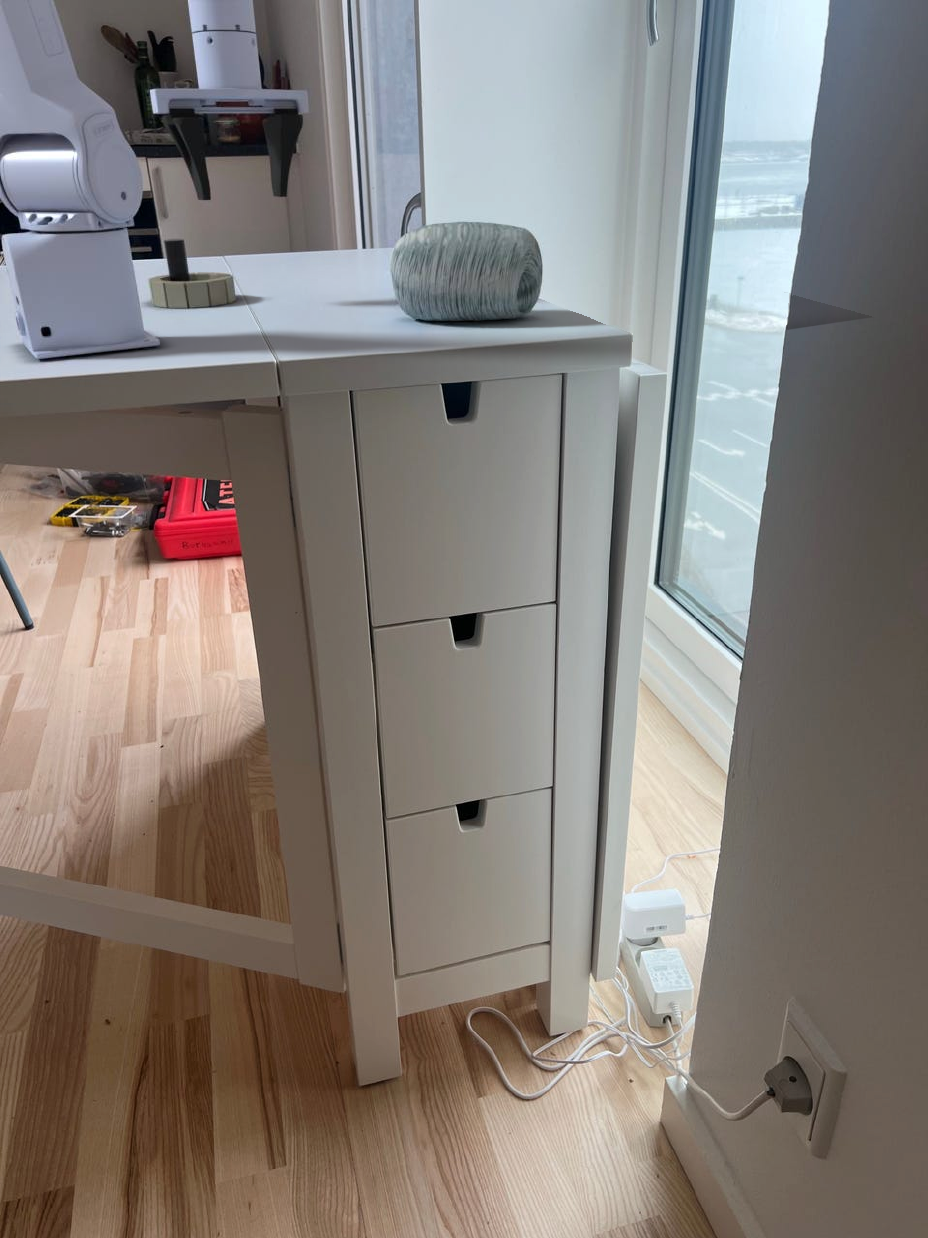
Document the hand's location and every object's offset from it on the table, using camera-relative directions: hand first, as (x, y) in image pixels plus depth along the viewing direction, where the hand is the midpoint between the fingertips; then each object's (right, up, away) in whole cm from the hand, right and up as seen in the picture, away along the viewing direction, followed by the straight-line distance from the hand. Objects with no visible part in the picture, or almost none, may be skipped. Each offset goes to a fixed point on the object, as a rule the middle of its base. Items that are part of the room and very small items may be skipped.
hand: (243, 198), depth 90 cm
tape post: (-8, -8, +7) cm, 13 cm away
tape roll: (-7, -8, +7) cm, 12 cm away
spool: (+22, -14, -6) cm, 27 cm away
